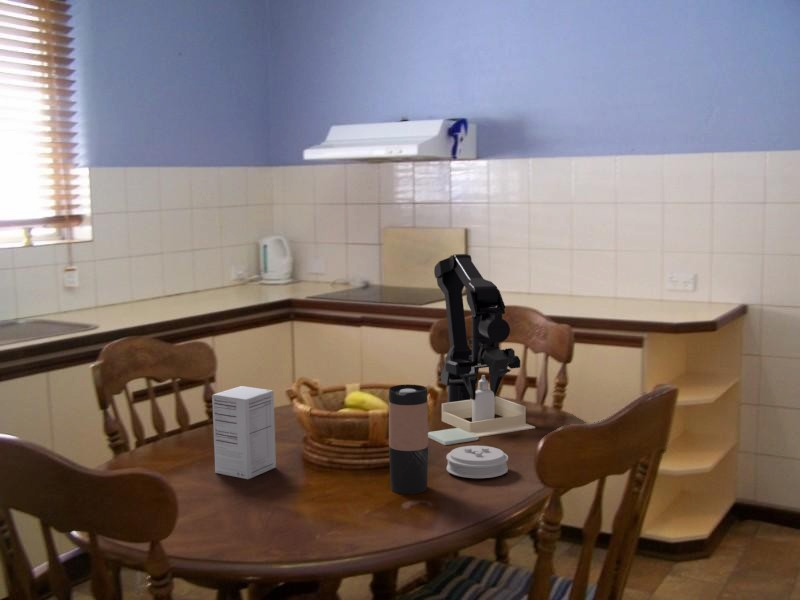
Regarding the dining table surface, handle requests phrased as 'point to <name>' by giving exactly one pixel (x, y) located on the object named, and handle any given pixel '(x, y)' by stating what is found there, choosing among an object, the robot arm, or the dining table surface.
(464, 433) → the coaster
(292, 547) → the dining table surface
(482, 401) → the eye dropper bottle
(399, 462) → the travel mug
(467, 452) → the lid
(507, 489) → the dining table surface
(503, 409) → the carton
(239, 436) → the supplement box
